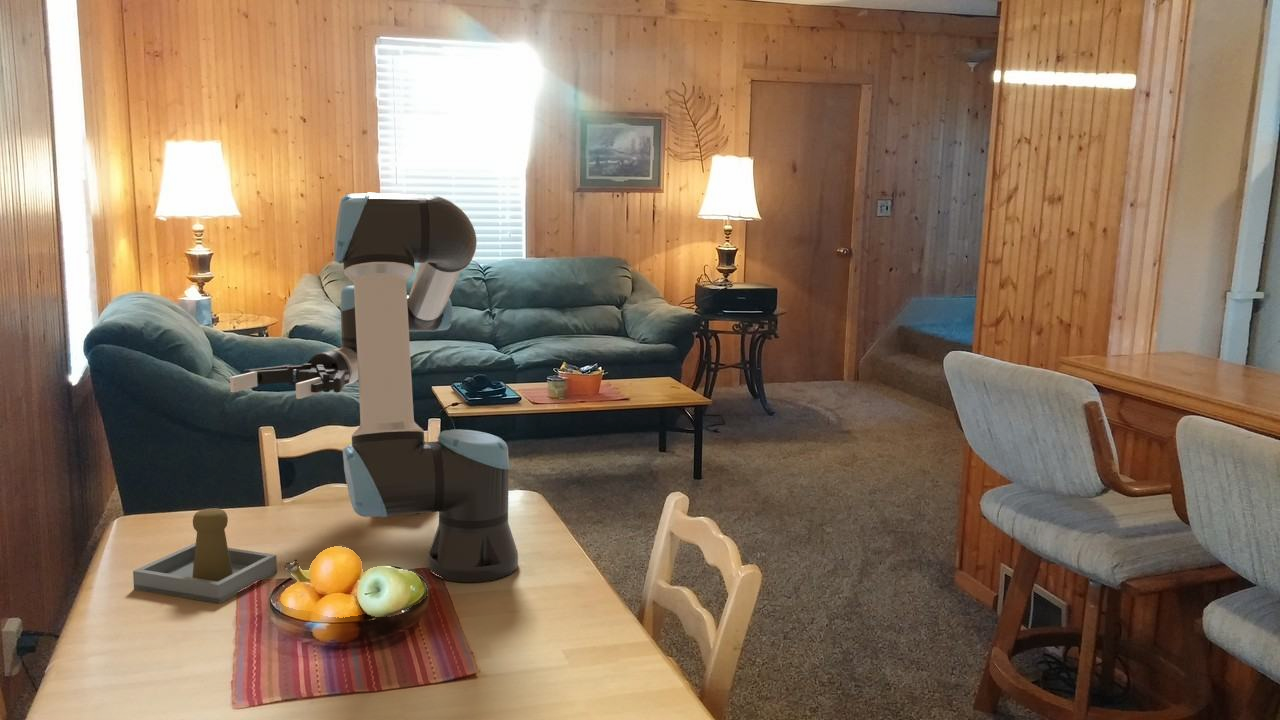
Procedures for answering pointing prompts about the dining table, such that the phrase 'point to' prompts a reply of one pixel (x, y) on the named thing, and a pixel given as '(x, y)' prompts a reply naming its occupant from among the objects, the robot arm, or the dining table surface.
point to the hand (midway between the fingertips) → (264, 388)
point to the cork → (211, 545)
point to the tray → (177, 579)
